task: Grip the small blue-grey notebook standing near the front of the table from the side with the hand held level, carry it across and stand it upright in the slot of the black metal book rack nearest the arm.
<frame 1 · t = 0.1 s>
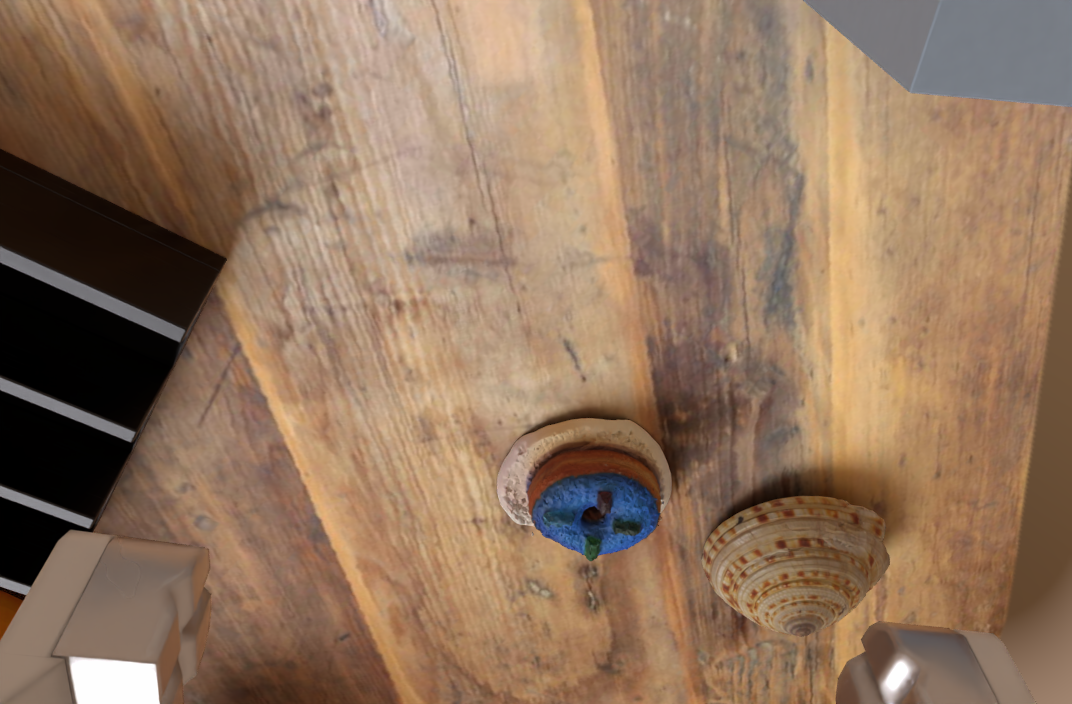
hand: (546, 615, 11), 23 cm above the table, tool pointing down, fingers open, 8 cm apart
rack: (11, 341, 36), on the table
seashell: (787, 539, 43), on the table
dessert: (583, 474, 41), on the table
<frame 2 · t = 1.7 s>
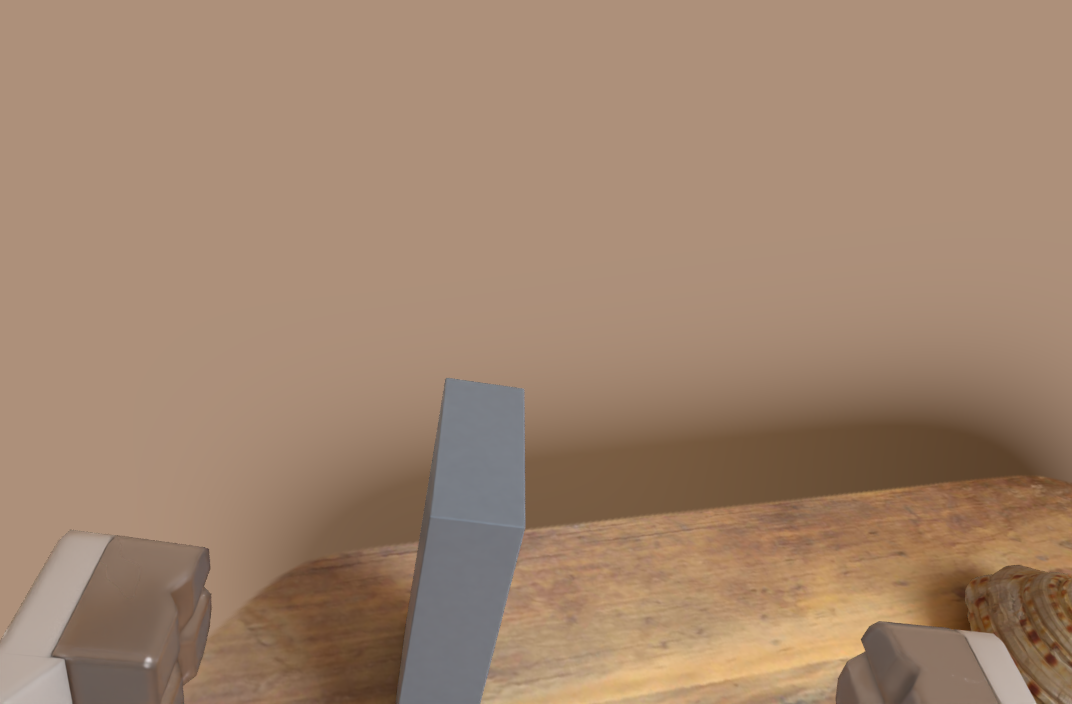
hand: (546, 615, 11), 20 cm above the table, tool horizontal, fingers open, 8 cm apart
seashell: (1050, 670, 39), on the table
book: (431, 694, 32), on the table
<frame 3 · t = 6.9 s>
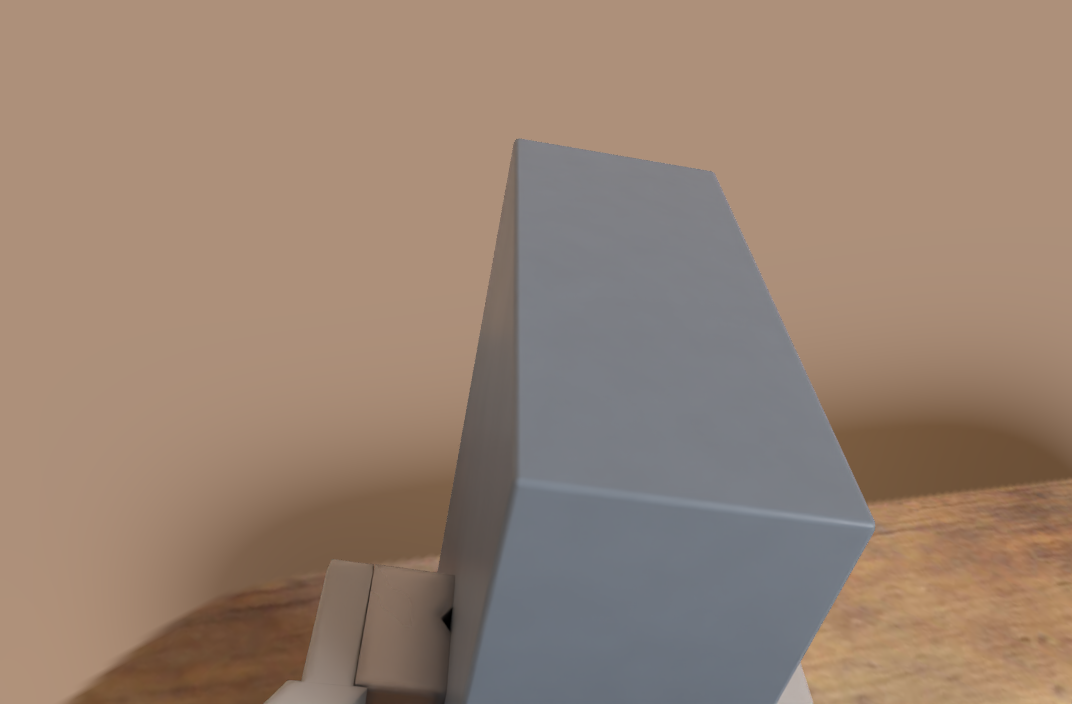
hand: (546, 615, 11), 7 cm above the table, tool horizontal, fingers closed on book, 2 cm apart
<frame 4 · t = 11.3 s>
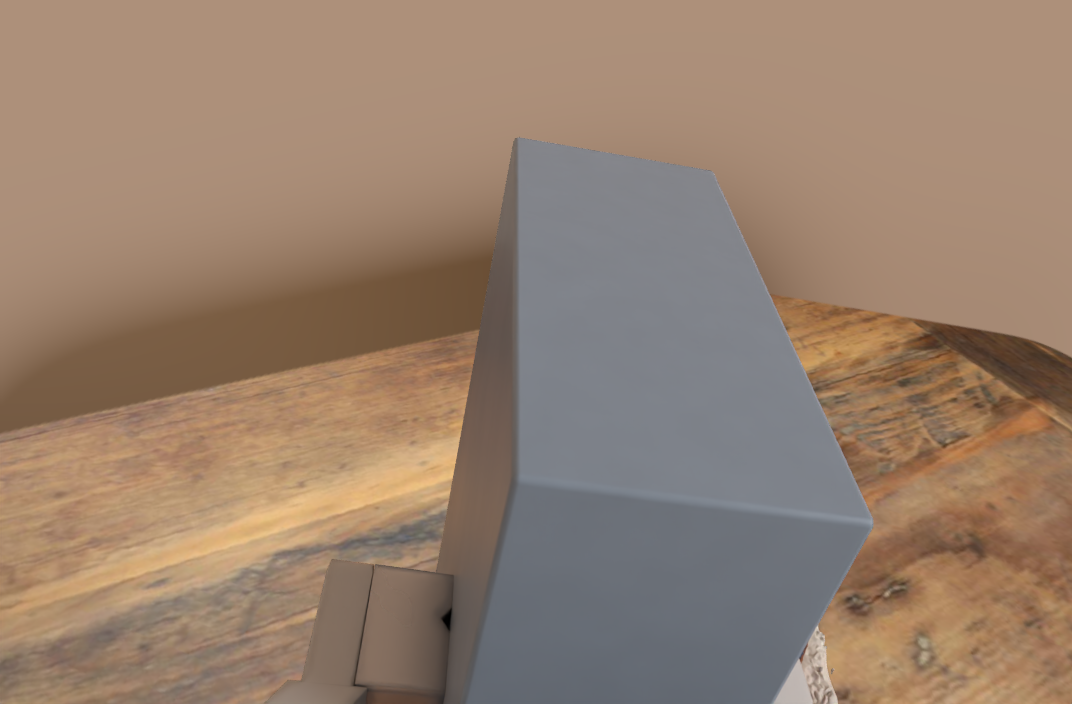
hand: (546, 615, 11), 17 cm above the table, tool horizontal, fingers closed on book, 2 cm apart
dessert: (725, 651, 32), on the table
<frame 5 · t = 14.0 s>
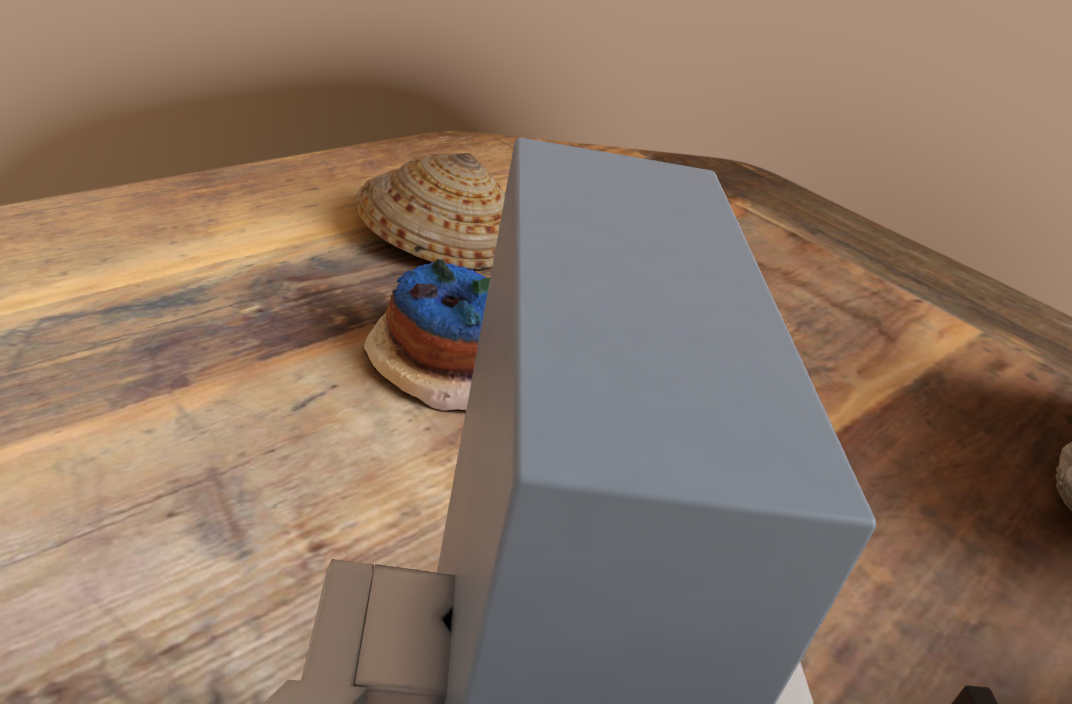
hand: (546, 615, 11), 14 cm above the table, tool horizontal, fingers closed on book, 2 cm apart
seashell: (434, 236, 47), on the table
dessert: (453, 360, 38), on the table
when the fingers open (8 cm above the table, at t = 15.8 s): book stays where it is, resting on rack.
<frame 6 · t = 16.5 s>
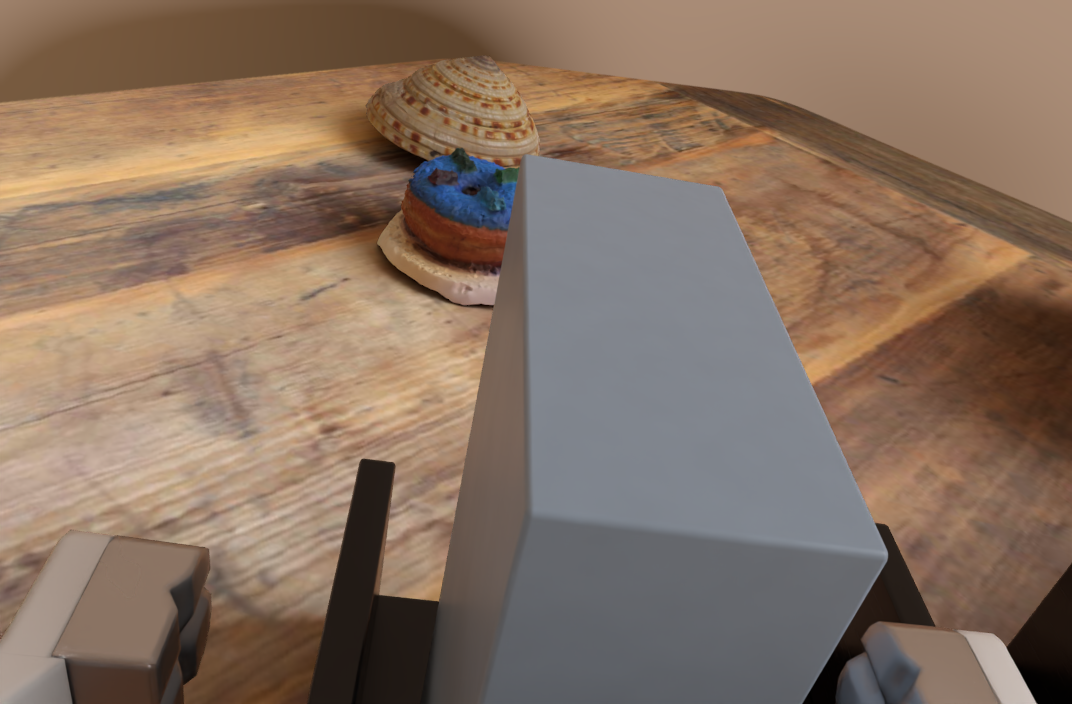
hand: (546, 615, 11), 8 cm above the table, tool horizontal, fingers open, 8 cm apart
seashell: (450, 149, 44), on the table
dessert: (474, 261, 35), on the table
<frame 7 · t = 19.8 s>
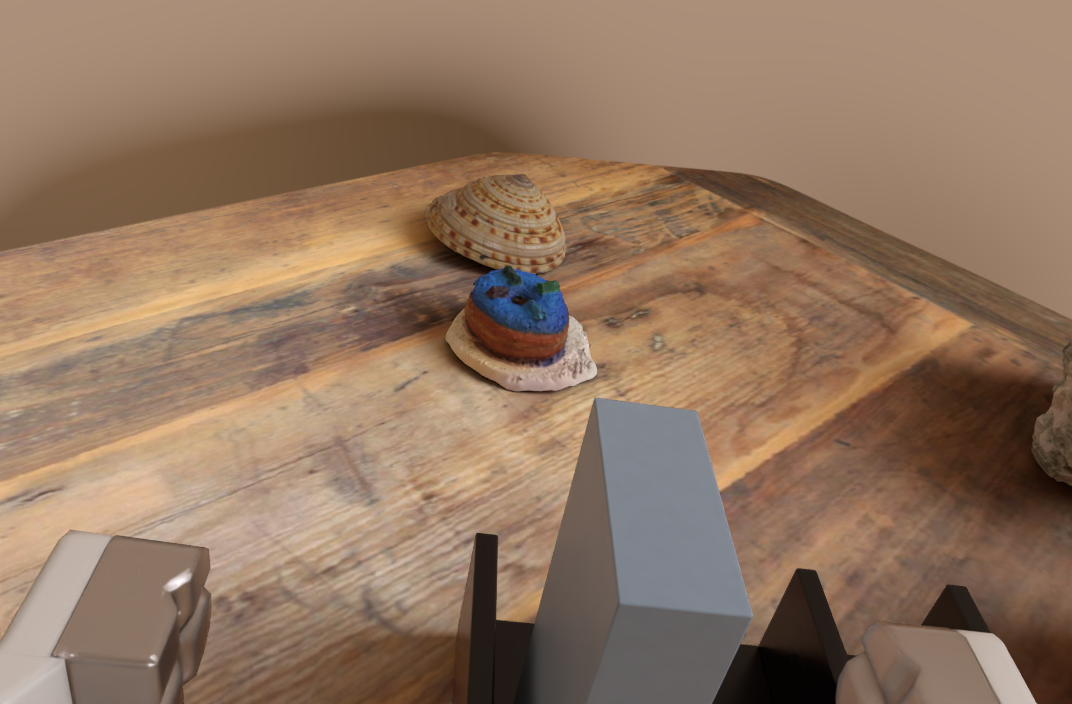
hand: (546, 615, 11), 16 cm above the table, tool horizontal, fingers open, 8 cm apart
seashell: (492, 246, 54), on the table
dessert: (519, 351, 45), on the table
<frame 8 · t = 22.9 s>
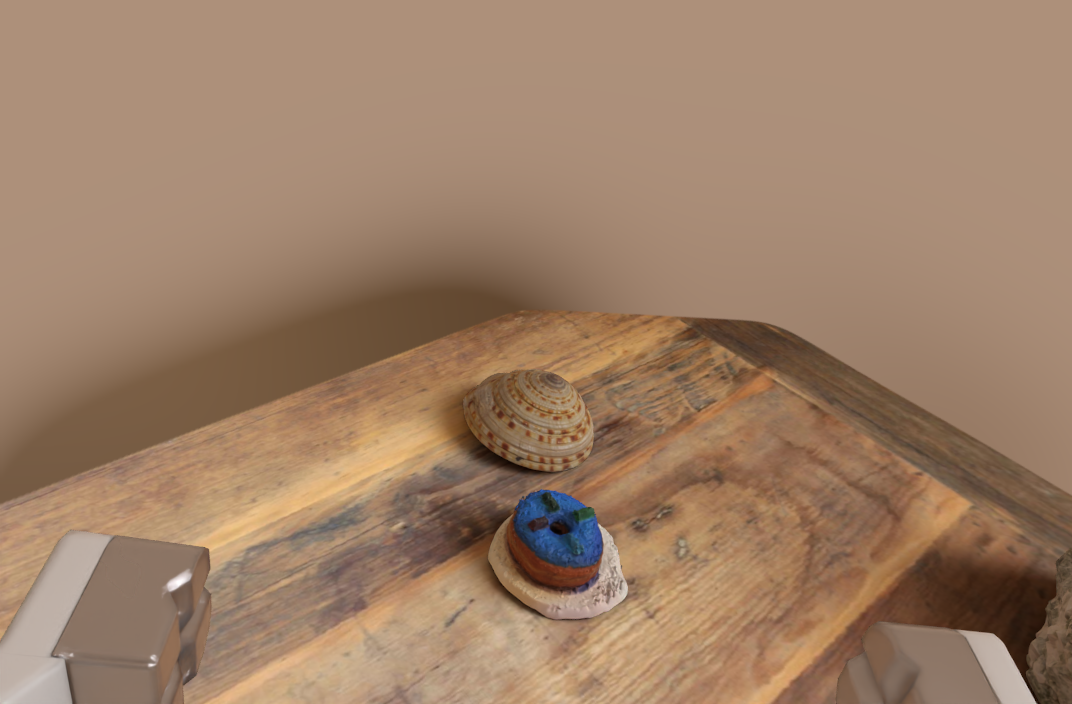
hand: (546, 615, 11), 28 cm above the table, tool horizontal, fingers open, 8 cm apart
seashell: (525, 434, 58), on the table
dessert: (556, 566, 49), on the table
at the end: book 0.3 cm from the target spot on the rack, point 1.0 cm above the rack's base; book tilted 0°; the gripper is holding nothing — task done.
